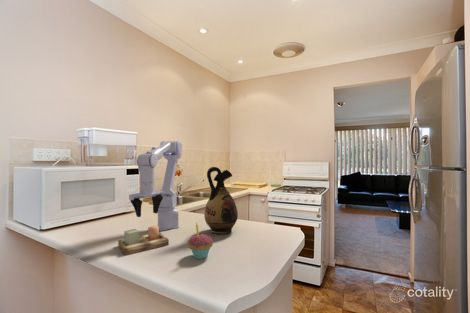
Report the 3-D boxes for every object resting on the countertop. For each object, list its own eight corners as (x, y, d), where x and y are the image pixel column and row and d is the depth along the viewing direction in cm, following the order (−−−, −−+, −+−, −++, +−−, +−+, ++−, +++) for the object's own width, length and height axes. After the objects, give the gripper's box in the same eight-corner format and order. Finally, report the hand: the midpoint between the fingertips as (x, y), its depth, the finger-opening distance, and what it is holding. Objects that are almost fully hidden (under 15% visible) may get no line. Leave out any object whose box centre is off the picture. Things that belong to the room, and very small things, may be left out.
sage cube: (134, 241, 91) (134, 228, 91) (139, 244, 88) (139, 230, 88) (124, 244, 88) (124, 231, 88) (129, 247, 85) (129, 233, 85)
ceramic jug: (229, 224, 118) (228, 165, 118) (243, 233, 104) (242, 166, 104) (197, 229, 110) (196, 166, 111) (207, 239, 96) (206, 167, 97)
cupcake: (201, 263, 74) (201, 226, 74) (182, 257, 78) (182, 222, 78) (217, 254, 81) (217, 219, 81) (199, 249, 86) (199, 216, 86)
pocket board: (159, 237, 99) (159, 232, 99) (168, 244, 90) (168, 239, 90) (118, 245, 90) (118, 240, 90) (124, 255, 81) (124, 248, 81)
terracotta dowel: (153, 237, 95) (153, 225, 95) (160, 239, 93) (160, 226, 94) (146, 240, 92) (146, 228, 92) (153, 242, 90) (153, 229, 90)
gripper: (157, 180, 105) (157, 210, 105) (125, 183, 93) (125, 216, 93) (166, 181, 100) (166, 212, 100) (134, 184, 89) (134, 219, 89)
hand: (147, 214), depth 96 cm, fingers open, 7 cm apart
